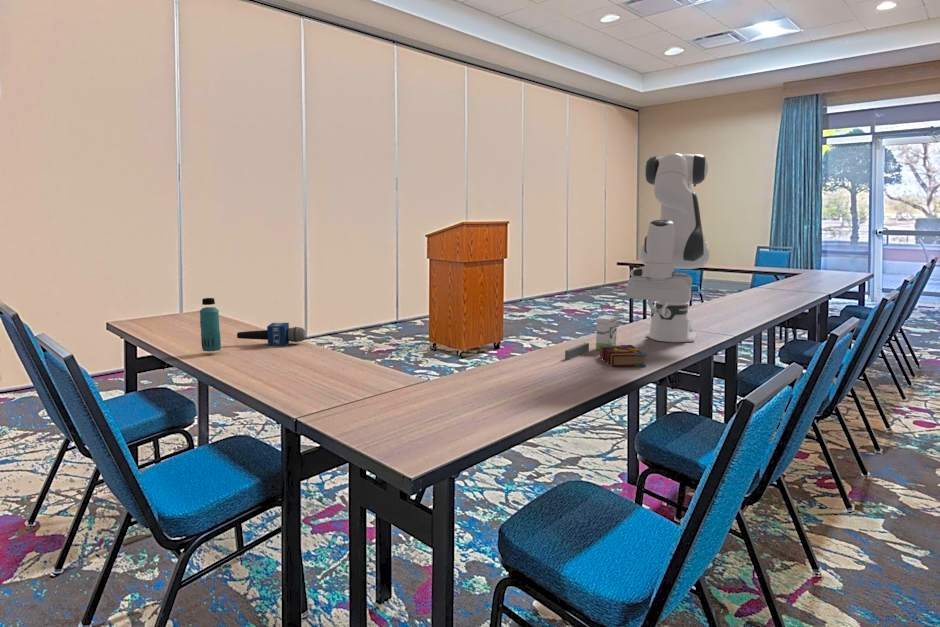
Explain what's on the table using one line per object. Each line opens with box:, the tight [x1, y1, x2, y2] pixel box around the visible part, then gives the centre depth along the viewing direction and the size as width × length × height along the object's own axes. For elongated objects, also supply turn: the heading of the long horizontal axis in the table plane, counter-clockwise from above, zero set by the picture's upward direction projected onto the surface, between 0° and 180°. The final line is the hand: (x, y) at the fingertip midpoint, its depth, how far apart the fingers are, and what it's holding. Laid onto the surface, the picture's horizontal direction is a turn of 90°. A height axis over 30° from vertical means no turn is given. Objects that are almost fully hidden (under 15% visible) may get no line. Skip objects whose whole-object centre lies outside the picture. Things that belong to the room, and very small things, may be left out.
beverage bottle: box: [199, 297, 222, 353], centre depth 221 cm, size 6×7×20 cm
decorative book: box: [599, 344, 647, 368], centre depth 211 cm, size 11×16×5 cm
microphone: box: [236, 322, 306, 347], centre depth 238 cm, size 8×8×25 cm
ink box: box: [595, 314, 618, 351], centre depth 231 cm, size 9×5×12 cm, turn 147°
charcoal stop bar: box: [564, 342, 590, 360], centre depth 220 cm, size 16×2×3 cm, turn 145°
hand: (657, 314), depth 202 cm, fingers closed
